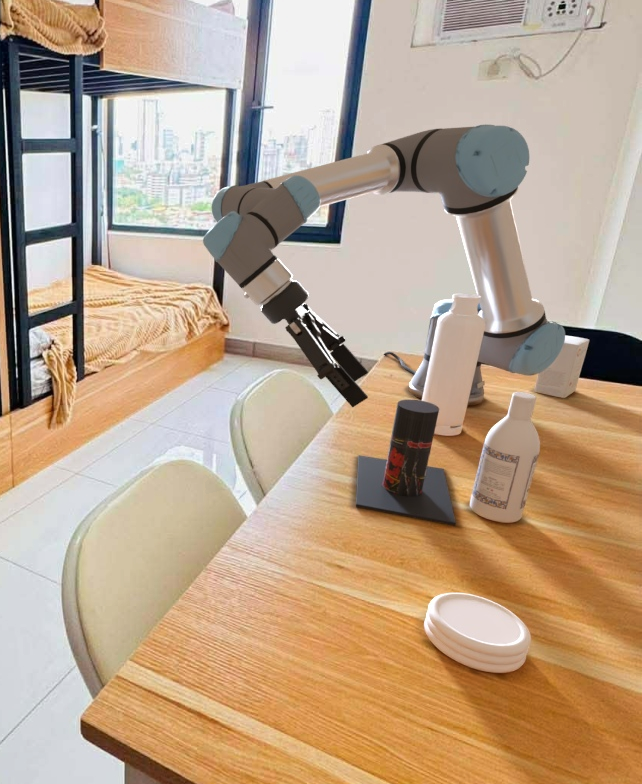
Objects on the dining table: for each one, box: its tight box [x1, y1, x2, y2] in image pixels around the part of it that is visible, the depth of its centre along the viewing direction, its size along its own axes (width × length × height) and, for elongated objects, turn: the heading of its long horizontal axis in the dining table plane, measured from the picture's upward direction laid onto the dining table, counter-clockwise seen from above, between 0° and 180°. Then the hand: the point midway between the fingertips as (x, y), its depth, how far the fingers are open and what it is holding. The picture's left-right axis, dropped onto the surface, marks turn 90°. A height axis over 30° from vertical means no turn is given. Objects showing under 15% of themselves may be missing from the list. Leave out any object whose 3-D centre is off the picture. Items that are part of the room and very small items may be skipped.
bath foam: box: [469, 391, 541, 524], centre depth 96 cm, size 7×7×20 cm
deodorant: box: [383, 399, 439, 497], centre depth 104 cm, size 6×6×15 cm
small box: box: [533, 334, 590, 399], centre depth 149 cm, size 8×6×13 cm
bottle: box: [421, 292, 485, 437], centre depth 127 cm, size 8×8×28 cm
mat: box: [355, 454, 457, 527], centre depth 108 cm, size 20×14×1 cm
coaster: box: [423, 592, 532, 674], centre depth 72 cm, size 10×10×4 cm
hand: (361, 388), depth 104 cm, fingers open, 13 cm apart
